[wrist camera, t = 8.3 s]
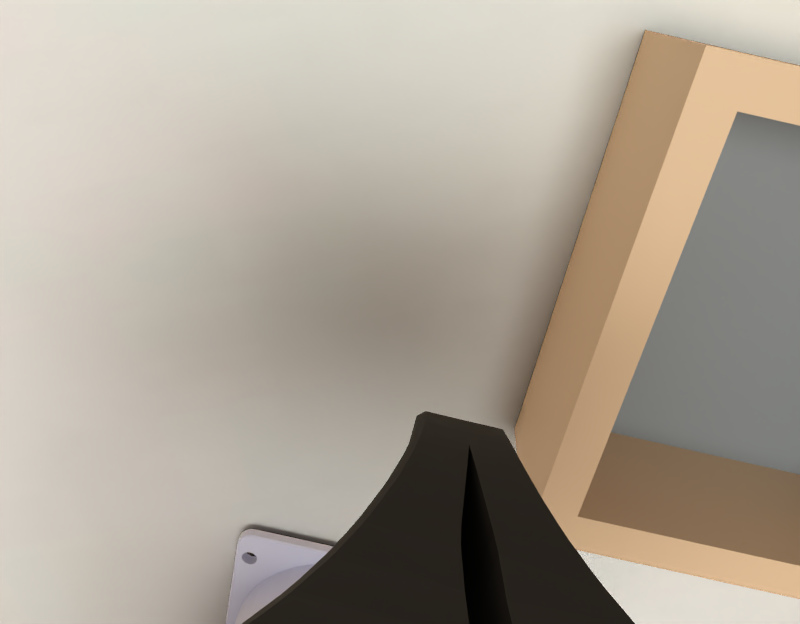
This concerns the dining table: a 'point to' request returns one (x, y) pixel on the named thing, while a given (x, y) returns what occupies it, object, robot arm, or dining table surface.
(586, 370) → the box
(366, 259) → the dining table surface
